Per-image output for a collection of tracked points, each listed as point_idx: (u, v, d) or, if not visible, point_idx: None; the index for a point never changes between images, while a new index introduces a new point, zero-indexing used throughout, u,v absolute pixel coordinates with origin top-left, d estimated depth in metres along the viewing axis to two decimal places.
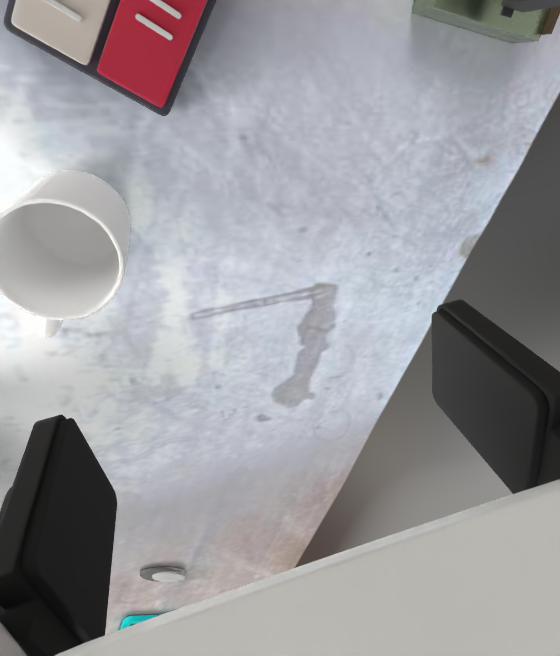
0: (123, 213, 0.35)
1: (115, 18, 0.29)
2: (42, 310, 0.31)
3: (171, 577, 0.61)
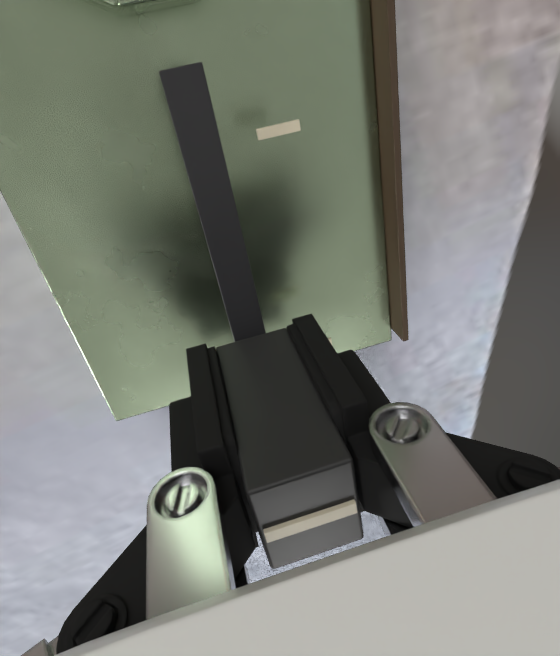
0: None
1: None
2: None
3: None
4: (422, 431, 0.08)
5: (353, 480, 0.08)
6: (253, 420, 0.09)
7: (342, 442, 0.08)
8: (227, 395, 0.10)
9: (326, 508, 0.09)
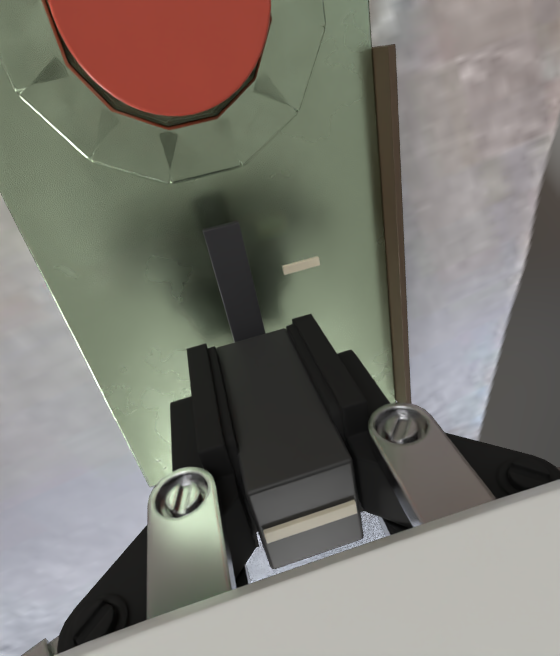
0: None
1: None
2: None
3: None
4: (421, 431, 0.08)
5: (353, 481, 0.08)
6: (253, 420, 0.09)
7: (342, 443, 0.08)
8: (227, 396, 0.10)
9: (326, 509, 0.09)
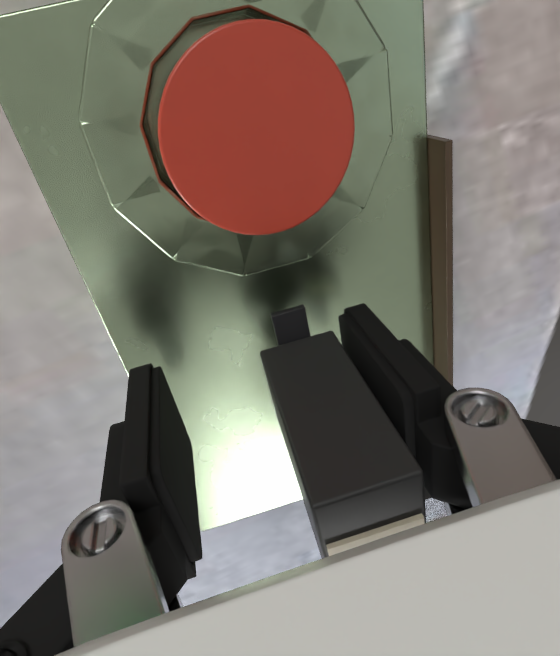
0: None
1: None
2: None
3: None
4: (500, 419, 0.08)
5: (422, 493, 0.08)
6: (309, 428, 0.09)
7: (409, 452, 0.08)
8: (278, 401, 0.10)
9: (392, 523, 0.08)
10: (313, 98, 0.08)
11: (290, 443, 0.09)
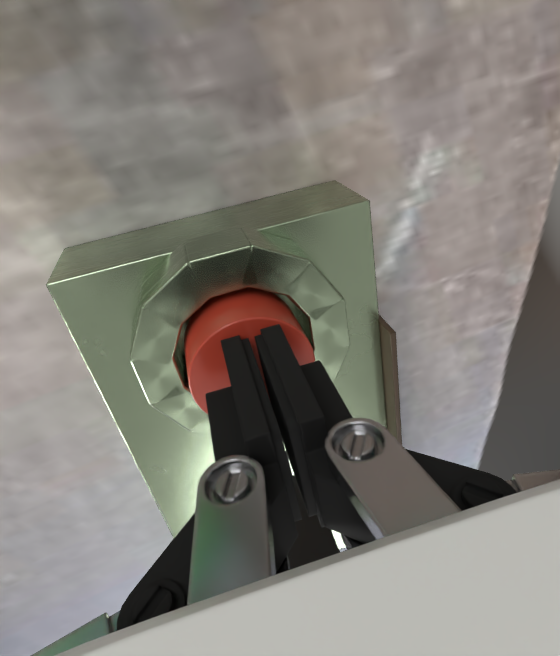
0: None
1: None
2: None
3: None
4: (378, 445, 0.08)
5: None
6: None
7: None
8: None
9: None
10: None
11: None
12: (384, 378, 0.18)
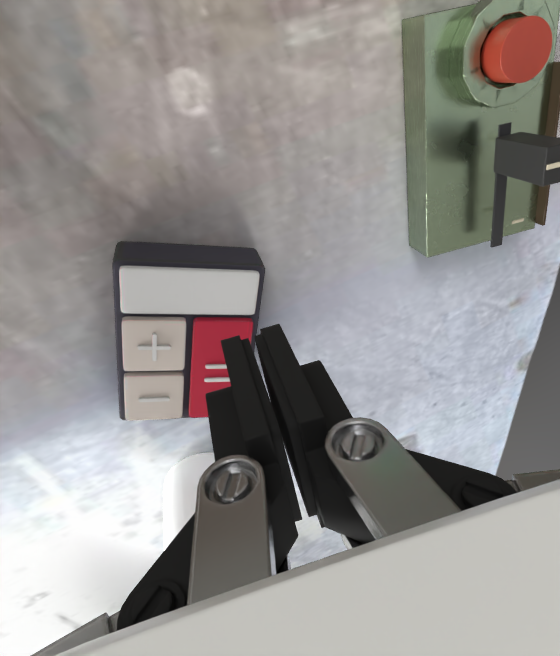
0: None
1: (191, 386, 0.38)
2: None
3: None
4: (378, 445, 0.08)
5: None
6: (533, 142, 0.29)
7: None
8: (516, 141, 0.30)
9: None
10: (543, 38, 0.28)
11: (529, 144, 0.29)
12: (549, 102, 0.34)
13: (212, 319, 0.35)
